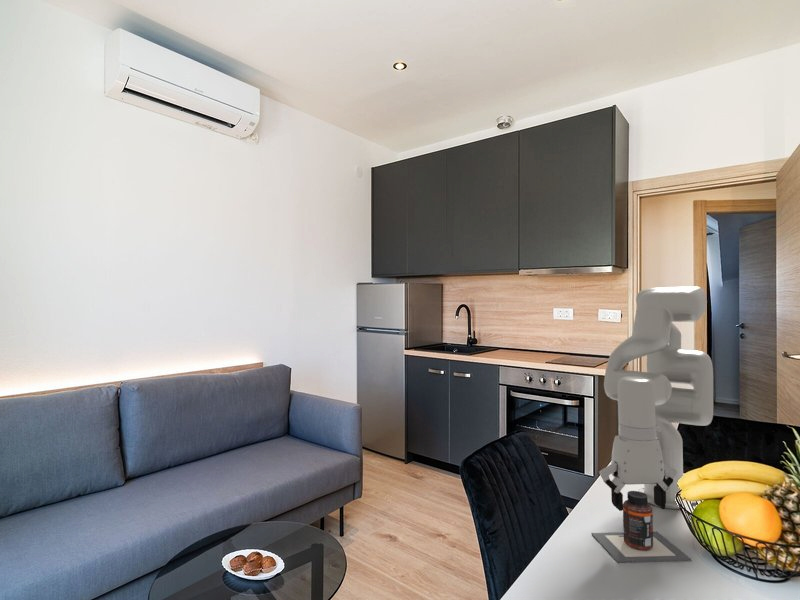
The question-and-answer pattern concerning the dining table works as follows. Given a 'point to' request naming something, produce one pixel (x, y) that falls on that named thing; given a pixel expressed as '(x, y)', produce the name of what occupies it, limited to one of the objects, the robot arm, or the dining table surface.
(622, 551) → the mat
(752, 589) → the dining table surface
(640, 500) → the supplement bottle
